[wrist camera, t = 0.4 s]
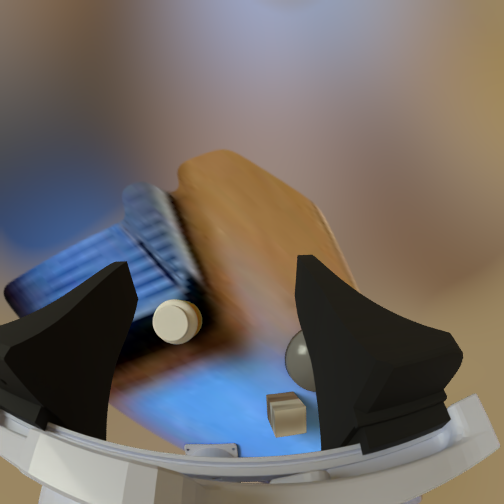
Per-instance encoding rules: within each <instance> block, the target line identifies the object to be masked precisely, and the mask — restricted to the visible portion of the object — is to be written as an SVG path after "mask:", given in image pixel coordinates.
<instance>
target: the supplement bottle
mask: <svg viewBox="0 0 504 504" xmlns="http://www.w3.org/2000/svg"><path fill="white" fill-rule="evenodd" d="M201 326H202V315H201V312H200V311H199V309H198V308H197V307H196V306H195V305H194V304H192V303H190V302H188V301H182V300H168V301H165V302H163V303H162V304H161V305H160V306H159V307H158V308H157V309H156V311H155V314H154V318H153V327H154V330H155V332H156V333H157V335H158V336H159V337H160V338H161V339H163V340H164V341H166V342H168V343H171V344H182V343H185V342H187V341H188V340H190V339H191V338H192V337H193V336H195V335H196V334H197V333H198V332H199V330H200V328H201Z"/></svg>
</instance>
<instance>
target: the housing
mask: <svg viewBox="0 0 504 504" xmlns="http://www.w3.org/2000/svg"><path fill="white" fill-rule="evenodd" d="M266 398H267V414H268V420H269V422H270V425H271V427H272V430H273V432H274V435H275V437H284V436H290V435H296V434H302V433H306V406H305V405H304V404H303V403H302V402H301V400H300V399H299V398H298V397H297V396H296V395H295V393H294V392H286V393H278V394H270V395H266Z"/></svg>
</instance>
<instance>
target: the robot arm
mask: <svg viewBox="0 0 504 504" xmlns="http://www.w3.org/2000/svg"><path fill="white" fill-rule="evenodd" d="M295 301H296V307H297V314H298V318H299V322H300V325H301V329H302V332H303V335H304V339H305V342H306V346H307V349H308V353H309V356H310V360H311V364H312V369H313V375H314V381H315V388H316V396H317V404H318V412H319V423H320V435H321V451H318V452H311V453H303V454H294V455H284V456H271V457H246V458H238V453H237V445H236V444H235V443H229V444H186V445H185V453H186V455H180V454H171V453H164V452H157V451H151V450H145V449H139V448H134V447H129V446H125V445H120V444H116V443H112V442H108V441H106V425H107V424H106V423H107V411H108V401H109V395H110V389H111V383H112V378H113V374H114V369H115V365H116V362H117V359H118V356H119V353H120V351H121V348H122V346H123V343H124V341H125V338H126V336H127V333H128V331H129V328H130V326H131V323H132V321H133V318H134V314H135V311H136V307H137V302H138V297H137V294H136V290H135V287H134V284H133V281H132V278H131V274H130V271H129V267H128V264H127V261H124V262H114V263H112V264H110V265H108V266H106V267H105V268H103V269H102V270H100V271H99V272H97V273H96V274H94V275H93V276H92V277H90V278H89V279H87V280H86V281H84V282H83V283H82V284H80V285H79V286H77V287H76V288H74V289H73V290H71V291H70V292H68V293H67V294H65V295H64V296H62V297H61V298H59V299H57V300H56V301H54V302H52V303H51V304H49V305H47V306H45V307H43V308H42V309H39V310H37V311H35V312H33V313H31V314H29V315H27V316H25V317H22V318H20V319H18V320H15V321H12V322H9V323H7V324H4V325H0V456H1V457H3V458H4V459H6V460H7V461H8V462H10V463H11V464H13V465H14V466H16V467H17V468H18V469H19V470H20V472H21V473H23V474H24V475H26V476H28V477H29V478H31V479H32V480H34V481H36V482H38V483H40V484H41V485H42V489H41V494H40V499H39V504H402V503H404V502H407V501H409V500H411V499H414V498H416V497H418V496H420V495H422V494H425V493H426V492H428V491H431V490H433V489H435V488H437V487H439V486H440V485H442V484H444V483H446V482H448V481H450V480H451V479H453V478H455V477H457V476H458V475H460V474H462V473H463V472H465V471H467V470H468V469H470V468H471V467H473V466H475V465H476V464H478V463H479V462H480V461H482V460H483V459H485V458H486V457H488V456H489V455H491V454H492V453H493V452H495V451H496V450H497V449H499V447H500V444H499V441H498V439H497V436H496V434H495V431H494V429H493V427H492V425H491V422H490V420H489V418H488V416H487V414H486V412H485V410H484V407H483V406H482V403H481V401H480V399H479V397H478V396H477V394H472V395H470V396H468V397H466V398H464V399H462V400H460V401H458V402H456V403H454V404H452V405H451V406H449V407H448V408H447V409H446V407H445V404H444V401H445V400H446V399H447V395H446V393H445V391H444V388H445V387H446V386H447V384H448V383H449V382H450V380H451V379H452V378H453V376H454V375H455V374H456V372H457V371H458V369H459V367H460V365H461V362H462V359H463V352H462V351H461V349H460V348H459V346H458V344H457V343H456V341H455V340H454V338H453V337H452V335H451V334H450V333H449V332H445V331H442V330H438V329H434V328H431V327H427V326H424V325H422V324H419V323H416V322H413V321H411V320H409V319H406V318H404V317H402V316H399V315H397V314H395V313H393V312H391V311H389V310H387V309H385V308H383V307H381V306H380V305H378V304H376V303H374V302H373V301H371V300H369V299H368V298H366V297H365V296H363V295H362V294H360V293H359V292H357V291H356V290H355V289H353V288H352V287H350V286H349V285H348V284H346V283H345V282H344V281H343V280H341V279H340V278H339V277H338V276H337V275H335V274H334V273H333V272H332V271H331V270H329V269H328V268H327V267H326V266H325V265H324V264H323V263H321V262H320V261H319V260H318V259H317V258H316V257H315V256H313V255H298V257H297V272H296V286H295ZM232 448H235V449H232ZM187 449H190V450H187ZM256 481H270V484H254V483H253V484H252V483H241V482H256Z"/></svg>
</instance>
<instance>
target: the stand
mask: <svg viewBox="0 0 504 504" xmlns="http://www.w3.org/2000/svg"><path fill="white" fill-rule="evenodd" d="M285 366H286V370H287V372H288V374H289V376H290V377H291V378H292V379H293V380H294V382H295V383H297V384H298V385H299V386H300V387H302V388H304V389H306V390H309V391H314V392H316V388H315V381H314V375H313V369H312V364H311V360H310V356H309V353H308V349H307V346H306V342H305V339H304V335H303V332H302V330H300V331H299V332H298V333H297V334H296V335H295V336H294V337H293V338H292V339H291V341H290V343H289V344H288V347H287V349H286V353H285Z"/></svg>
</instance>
